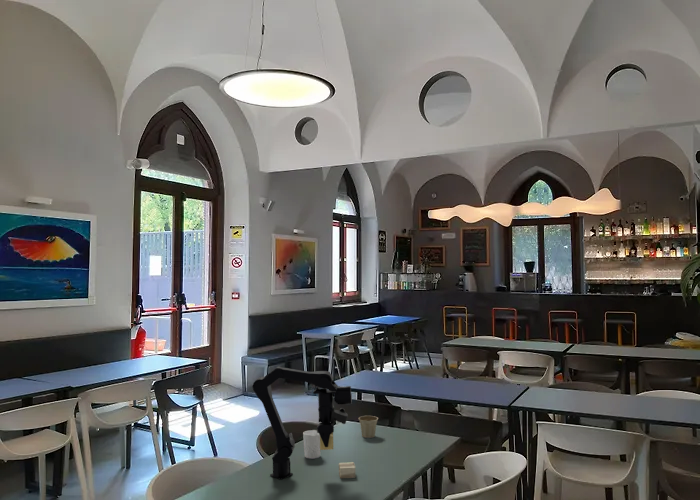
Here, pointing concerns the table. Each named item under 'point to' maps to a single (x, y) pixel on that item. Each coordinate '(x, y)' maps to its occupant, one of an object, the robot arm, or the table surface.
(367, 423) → the flower pot
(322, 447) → the ochre block
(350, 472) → the birch base block
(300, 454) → the table surface
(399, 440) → the table surface
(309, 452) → the white cup
